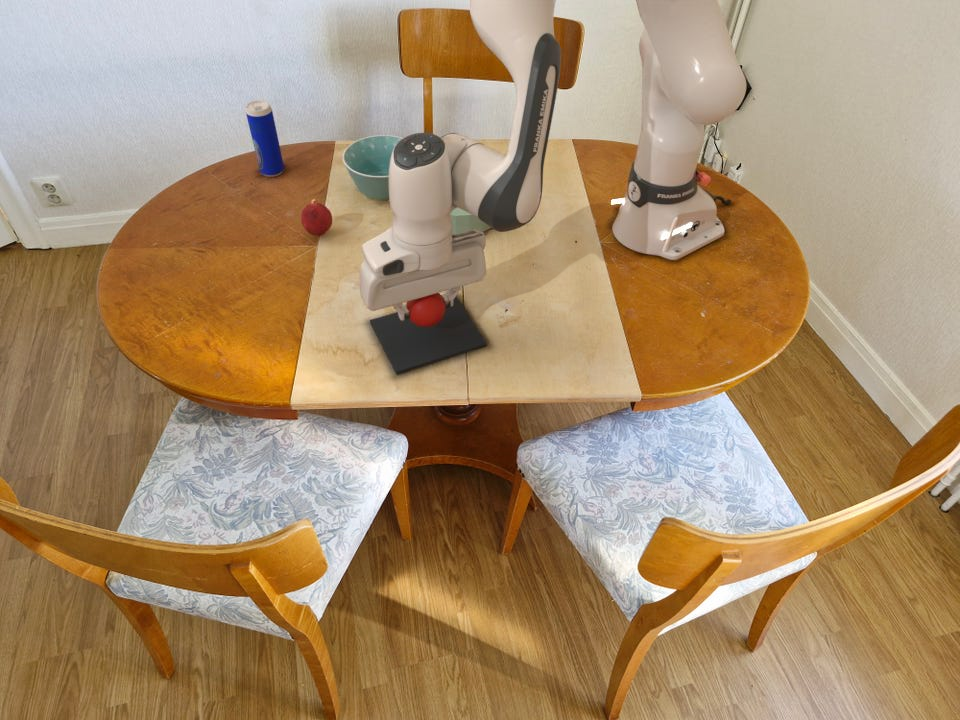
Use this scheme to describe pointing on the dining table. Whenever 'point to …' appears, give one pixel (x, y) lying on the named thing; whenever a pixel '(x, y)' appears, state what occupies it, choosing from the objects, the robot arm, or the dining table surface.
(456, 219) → the fruit bowl
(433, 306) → the red ball
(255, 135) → the beverage can
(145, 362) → the dining table surface
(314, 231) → the onion
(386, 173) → the bowl
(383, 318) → the mat
